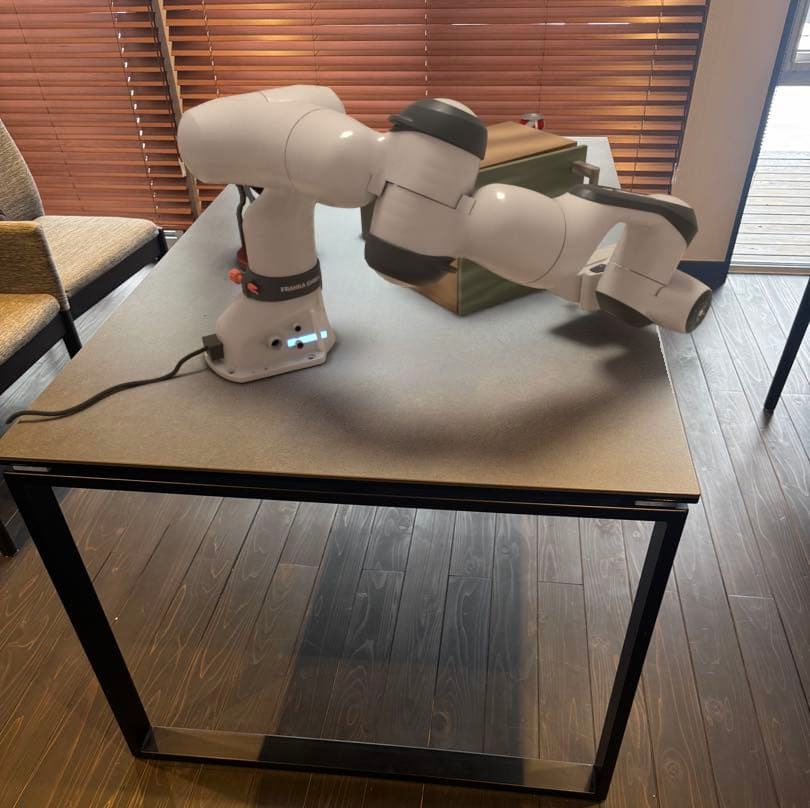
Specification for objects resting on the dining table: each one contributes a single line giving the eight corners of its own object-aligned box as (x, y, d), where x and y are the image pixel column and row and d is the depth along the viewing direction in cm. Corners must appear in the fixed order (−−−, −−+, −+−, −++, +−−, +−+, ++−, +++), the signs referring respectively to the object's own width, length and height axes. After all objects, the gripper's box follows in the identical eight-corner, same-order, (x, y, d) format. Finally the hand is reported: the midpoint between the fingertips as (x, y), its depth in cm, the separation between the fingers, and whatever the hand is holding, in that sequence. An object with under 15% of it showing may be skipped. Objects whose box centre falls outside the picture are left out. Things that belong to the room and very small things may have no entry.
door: (593, 290, 149) (611, 153, 133) (479, 328, 139) (484, 185, 123) (569, 277, 154) (584, 144, 137) (457, 314, 144) (459, 174, 128)
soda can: (511, 165, 207) (513, 115, 199) (533, 161, 209) (536, 111, 201) (524, 172, 202) (528, 121, 194) (547, 168, 204) (551, 117, 196)
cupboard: (563, 276, 155) (577, 141, 138) (456, 314, 144) (458, 173, 128) (503, 248, 166) (510, 120, 150) (400, 282, 155) (395, 148, 139)
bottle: (385, 242, 171) (381, 168, 161) (359, 240, 172) (354, 167, 162) (391, 231, 175) (388, 159, 165) (365, 230, 176) (360, 158, 166)
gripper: (671, 245, 134) (611, 222, 142) (582, 277, 125) (524, 250, 134) (664, 280, 138) (606, 256, 147) (578, 314, 130) (522, 286, 138)
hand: (566, 253), depth 140 cm, fingers closed
